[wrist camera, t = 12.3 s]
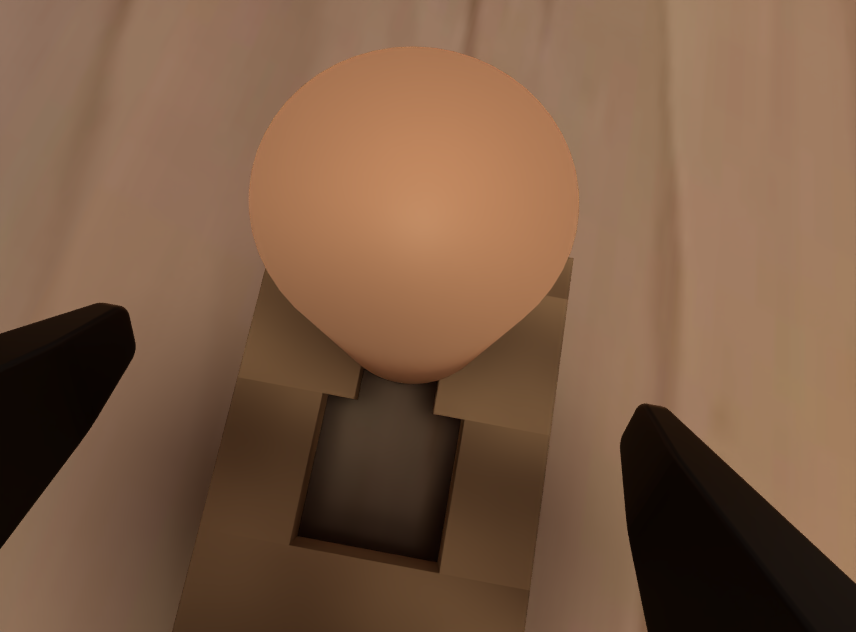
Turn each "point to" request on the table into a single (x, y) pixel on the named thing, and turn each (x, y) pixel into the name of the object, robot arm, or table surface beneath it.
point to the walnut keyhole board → (356, 567)
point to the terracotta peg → (413, 207)
